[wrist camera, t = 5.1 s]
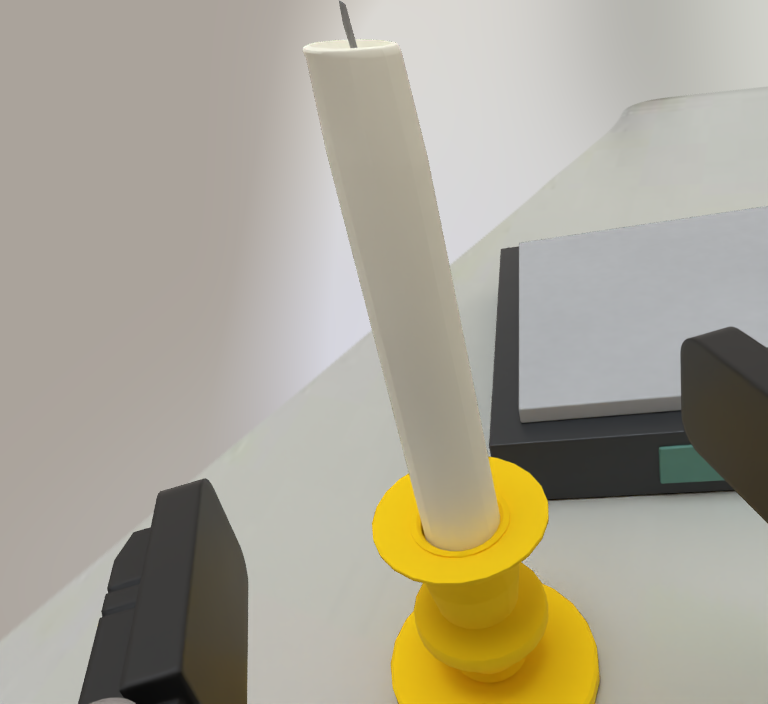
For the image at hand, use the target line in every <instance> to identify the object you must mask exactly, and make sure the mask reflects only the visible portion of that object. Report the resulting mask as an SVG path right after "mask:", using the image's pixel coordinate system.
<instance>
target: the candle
mask: <svg viewBox="0 0 768 704" xmlns="http://www.w3.org/2000/svg"><path fill="white" fill-rule="evenodd" d="M339 3H340V9H341V15H342V20H343V25H344V28H345V32H346V35H347V38H348V40H333V41H322V42H316V43H311V44H308V45H306V46H305V47H303V53H304V55H305V57H306V60H307V64H308V69H309V74H310V78H311V83H312V88H313V92H314V97H315V102H316V106H317V111H318V116H319V120H320V125H321V130H322V134H323V139H324V144H325V148H326V152H327V156H328V160H329V164H330V168H331V172H332V176H333V179H334V183H335V187H336V191H337V195H338V199H339V203H340V207H341V210H342V215H343V219H344V222H345V226H346V230H347V234H348V238H349V242H350V246H351V249H352V254H353V258H354V261H355V265H356V269H357V273H358V277H359V281H360V284H361V289H362V292H363V296H364V300H365V304H366V308H367V312H368V316H369V320H370V324H371V328H372V332H373V335H374V339H375V343H376V347H377V351H378V355H379V359H380V363H381V367H382V370H383V374H384V378H385V382H386V386H387V390H388V394H389V398H390V402H391V405H392V409H393V413H394V417H395V421H396V425H397V429H398V433H399V437H400V441H401V444H402V448H403V452H404V456H405V460H406V464H407V468H408V472H409V474H407V475H405V476H404V477H402V478H401V479H399V480H398V481H397V482H396V483H395V484H394V485H393V486H392V487H391V488H390V489H389V490H388V491H387V492H386V493H385V495H384V496H383V498H382V499H381V501H380V503H379V504H378V506H377V508H376V511H375V515H374V518H373V522H372V529H373V540H374V543H375V545H376V547H377V550H378V552H379V554H380V556H381V558H382V559H383V560H384V561H385V562H386V563H387V564H388V565H389V566H390V567H391V568H392V569H393V570H394V571H396V572H398V573H400V574H402V575H404V576H405V577H407V578H409V579H411V580H413V581H417V582H422V583H423V584H422V586H421V588H420V590H419V592H418V594H417V596H416V601H415V607H414V611H413V612H412V613H411V615H410V616H409V617H408V618H407V619H406V621H405V623H404V625H403V627H402V629H401V631H400V633H399V635H398V637H397V639H396V641H395V645H394V650H393V655H392V660H391V673H392V685H393V690H394V693H395V695H396V698H397V701H398V703H399V704H595V699H596V695H597V691H598V686H599V682H600V678H599V666H598V654H597V646H596V643H595V641H594V638H593V635H592V633H591V630H590V628H589V625H588V623H587V622H586V620H585V619H584V618H583V616H582V615H581V614H580V612H579V611H578V610H577V609H576V607H575V606H574V605H573V603H571V602H570V601H569V600H567V599H566V598H565V597H564V596H562V595H561V594H560V593H558V592H557V591H556V590H555V589H553V588H551V587H548V586H546V585H544V584H542V583H541V581H540V580H539V579H538V577H537V576H536V575H535V573H534V572H533V571H532V570H531V569H529V568H528V567H527V566H525V565H524V564H523V563H522V561H523V560H524V559H526V558H527V557H528V556H529V555H530V554H531V553H532V552H533V550H534V549H535V548H536V546H537V545H538V544H539V542H540V541H541V540H542V538H543V535H544V532H545V530H546V527H547V524H548V501H547V498H546V496H545V494H544V491H543V489H542V486H541V485H540V484H539V483H538V482H537V481H536V480H535V478H534V477H533V476H532V475H531V474H530V473H529V472H527V471H525V470H524V469H522V468H521V467H519V466H517V465H516V464H514V463H511V462H508V461H505V460H502V459H499V458H494V457H488V454H487V449H486V444H485V439H484V434H483V429H482V424H481V419H480V414H479V409H478V404H477V399H476V394H475V389H474V384H473V380H472V375H471V370H470V365H469V360H468V355H467V350H466V345H465V340H464V335H463V330H462V325H461V320H460V315H459V310H458V305H457V300H456V295H455V290H454V285H453V280H452V275H451V270H450V266H449V261H448V256H447V251H446V246H445V241H444V236H443V231H442V226H441V221H440V216H439V211H438V206H437V201H436V196H435V191H434V186H433V181H432V177H431V171H430V166H429V161H428V157H427V153H426V149H425V145H424V141H423V136H422V132H421V128H420V125H419V120H418V116H417V112H416V108H415V105H414V100H413V96H412V92H411V88H410V84H409V80H408V76H407V72H406V68H405V64H404V60H403V56H402V52H401V49H400V47H399V45H398V44H397V43H396V42H392V41H384V40H370V39H355V37H354V34H353V30H352V27H351V23H350V19H349V16H348V12H347V9H346V5H345V4H344V3H343V2H341V1H339Z"/></svg>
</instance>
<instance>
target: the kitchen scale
mask: <svg viewBox="0 0 768 704" xmlns="http://www.w3.org/2000/svg"><path fill="white" fill-rule="evenodd" d="M729 326H733V327H736V328H738V329H740V330H741V331H743V332H744V333H746V334H747V335H749V336H750V337H752V338H753V339H755V340H756V341H758V342H759V343H761V344H762V345H764V346H765V347H768V206H764V207H757V208H751V209H744V210H737V211H730V212H724V213H717V214H710V215H703V216H697V217H690V218H683V219H676V220H670V221H663V222H656V223H649V224H643V225H636V226H629V227H622V228H616V229H609V230H602V231H595V232H589V233H582V234H575V235H568V236H562V237H555V238H548V239H541V240H535V241H528V242H521V243H519V247H512V248H505V249H501V256H500V272H499V289H498V306H497V322H496V339H495V356H494V372H493V389H492V406H491V422H490V439H489V448H490V453H491V457H494V458H499V459H502V460H505V461H508V462H511V463H514V464H516V465H517V466H519V467H521V468H522V469H524V470H525V471H527V472H529V473H530V474H531V475H532V476H533V477H534V478H535V480H536V481H537V482H538V483H539V484H540V485H541V486H542V489H543V491H544V494H545V496H546V498H547V499H564V498H584V497H604V496H624V495H643V494H663V493H683V492H703V491H722V490H734V489H733V488H732V487H731V486H730V485H729V484H728V483H727V482H726V481H725V480H724V479H723V478H722V477H721V476H720V475H719V474H718V473H717V472H716V471H715V470H714V469H713V468H712V467H711V466H710V465H709V464H708V463H707V462H706V461H705V460H704V459H703V458H702V457H701V456H700V455H699V454H698V452H697V451H696V450H695V449H694V448H693V446H692V445H691V443H690V441H689V439H688V437H687V435H686V433H685V430H684V427H683V423H682V416H681V363H680V351H681V346H682V343H683V342H684V340H686V339H688V338H692V337H695V336H698V335H702V334H705V333H709V332H712V331H715V330H719V329H722V328H726V327H729Z"/></svg>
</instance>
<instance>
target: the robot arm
mask: <svg viewBox="0 0 768 704" xmlns="http://www.w3.org/2000/svg"><path fill="white" fill-rule="evenodd" d="M680 363H681V416H682V423H683V427H684V430H685V433H686V435H687V437H688V439H689V441H690V443H691V445H692V446H693V448H694V449H695V450H696V451H697V452H698V454H699V455H700V456H701V457H702V458H703V459H704V460H705V461H706V462H707V463H708V464H709V465H710V466H711V467H712V468H713V469H714V470H715V471H716V472H717V473H718V474H719V475H720V476H721V477H722V478H723V479H724V480H725V481H726V482H727V483H728V484H729V485H730V486H731V487H732V488H733V489H734V490H735V491H736V492H737V493H738V494H739V495H740V496H741V497H742V498H743V499H744V500H745V501H746V502H747V503H748V504H749V505H750V506H751V507H752V508H753V509H754V510H755V511H756V512H757V513H758V514H759V515H760V516H761V517H762V518H763V519H764V520H765V521H766V522H767V523H768V347H765V346H764V345H762V344H761V343H759V342H758V341H756V340H755V339H753V338H752V337H750V336H749V335H747V334H746V333H744V332H743V331H741V330H740V329H738V328H736V327H733V326H729V327H726V328H722V329H719V330H715V331H712V332H709V333H705V334H702V335H698V336H695V337H692V338H688V339H686V340H684V342H683V343H682V346H681V351H680ZM107 589H108V594H106V596H105V600H104V603H103V607H102V611H101V612H102V618H100V619H99V623H98V627H97V631H96V635H95V639H94V643H93V647H92V651H91V655H90V659H89V663H88V667H87V671H86V675H85V679H84V683H83V687H82V691H81V695H80V699H79V702H78V704H247V656H248V576H247V569H246V564H245V560H244V556H243V553H242V550H241V547H240V545H239V543H238V541H237V538H236V536H235V534H234V532H233V530H232V527H231V525H230V523H229V521H228V519H227V516H226V514H225V512H224V510H223V508H222V506H221V503H220V501H219V499H218V497H217V495H216V492H215V490H214V488H213V486H212V484H211V483H210V482H209V480H207V479H202V480H198V481H195V482H191V483H188V484H184V485H181V486H178V487H174V488H171V489H167V490H164V491H160V493H159V494H158V496H157V499H156V505H155V509H154V514H153V519H152V525H151V527H150V528H147V529H144V530H140V531H137V532H133V534H132V535H131V537H130V538H129V540H128V541H127V543H126V544H125V546H124V547H123V549H122V550H121V551H120V553H119V554H118V556H117V557H116V559H115V560H114V564H113V568H112V572H111V576H110V580H109V584H108V588H107Z"/></svg>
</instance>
